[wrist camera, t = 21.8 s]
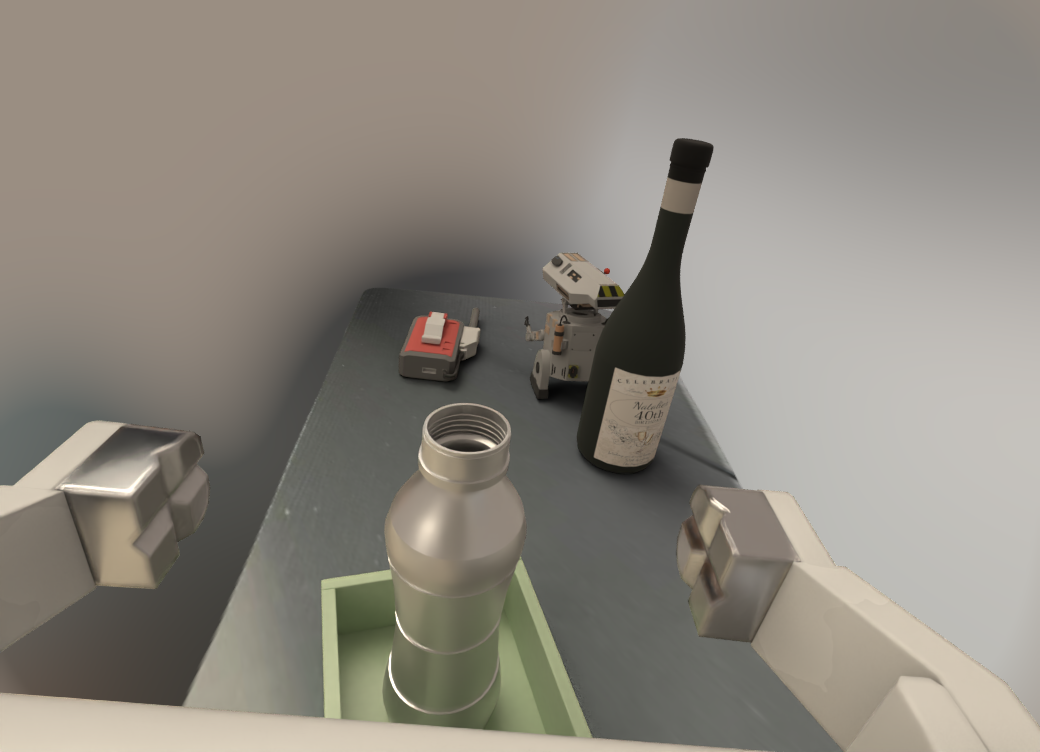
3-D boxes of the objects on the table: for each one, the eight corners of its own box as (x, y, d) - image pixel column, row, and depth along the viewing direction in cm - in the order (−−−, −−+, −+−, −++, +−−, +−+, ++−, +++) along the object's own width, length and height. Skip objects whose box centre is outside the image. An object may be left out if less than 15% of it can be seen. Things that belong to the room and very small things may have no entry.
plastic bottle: (517, 693, 35) (574, 421, 25) (448, 798, 30) (486, 506, 20) (432, 637, 37) (454, 369, 28) (356, 724, 32) (349, 432, 22)
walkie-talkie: (471, 391, 66) (482, 319, 83) (474, 357, 64) (485, 290, 81) (393, 382, 65) (421, 312, 83) (394, 347, 63) (423, 283, 80)
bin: (582, 814, 30) (602, 760, 28) (331, 894, 26) (327, 840, 24) (509, 602, 41) (518, 549, 39) (324, 635, 37) (321, 579, 35)
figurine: (585, 360, 76) (608, 250, 69) (614, 408, 66) (644, 286, 59) (518, 359, 74) (534, 245, 67) (537, 408, 64) (559, 282, 57)
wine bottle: (667, 473, 57) (771, 155, 42) (596, 483, 54) (680, 146, 39) (628, 427, 63) (706, 136, 49) (562, 433, 61) (624, 127, 46)
